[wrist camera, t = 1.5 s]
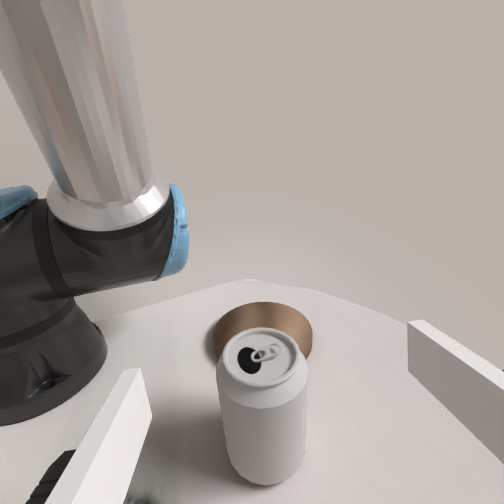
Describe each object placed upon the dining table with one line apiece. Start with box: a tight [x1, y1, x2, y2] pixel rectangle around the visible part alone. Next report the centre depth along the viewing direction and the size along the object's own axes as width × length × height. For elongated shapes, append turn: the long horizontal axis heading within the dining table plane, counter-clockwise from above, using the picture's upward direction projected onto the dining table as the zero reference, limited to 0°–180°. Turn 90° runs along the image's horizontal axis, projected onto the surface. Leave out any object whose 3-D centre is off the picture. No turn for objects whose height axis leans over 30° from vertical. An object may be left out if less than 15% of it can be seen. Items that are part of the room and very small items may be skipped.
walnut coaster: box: [214, 302, 312, 360], centre depth 41 cm, size 14×14×2 cm
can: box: [216, 327, 308, 486], centre depth 25 cm, size 8×8×12 cm
